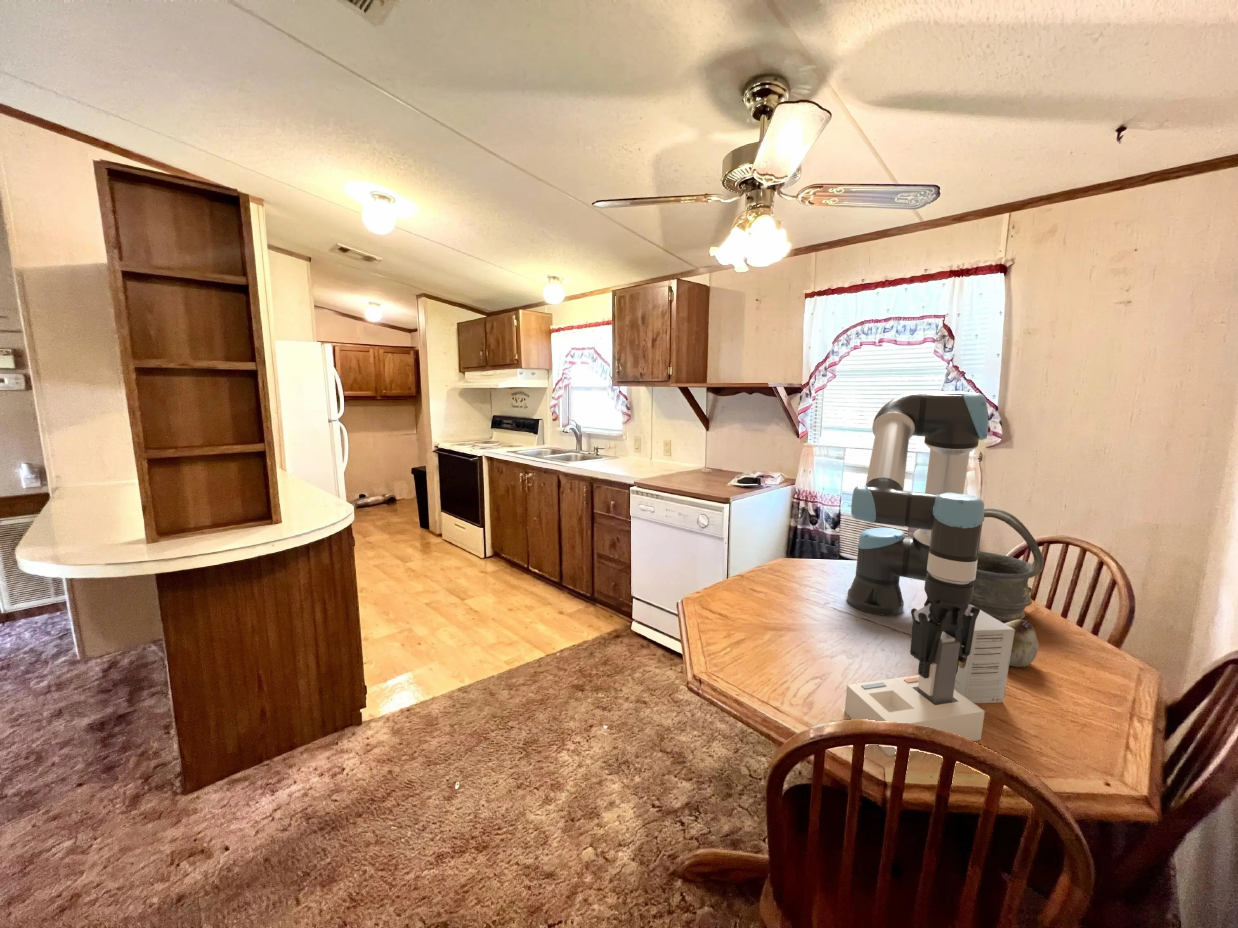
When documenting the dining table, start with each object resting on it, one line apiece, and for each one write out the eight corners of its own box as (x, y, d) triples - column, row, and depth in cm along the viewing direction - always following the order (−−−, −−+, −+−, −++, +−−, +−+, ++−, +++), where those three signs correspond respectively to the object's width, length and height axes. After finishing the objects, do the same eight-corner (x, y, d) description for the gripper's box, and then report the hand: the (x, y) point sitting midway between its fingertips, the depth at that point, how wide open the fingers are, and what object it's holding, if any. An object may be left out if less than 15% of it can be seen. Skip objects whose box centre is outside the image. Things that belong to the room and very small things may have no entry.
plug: (934, 691, 96) (942, 629, 94) (951, 704, 92) (960, 639, 90) (917, 694, 95) (925, 631, 93) (934, 707, 91) (942, 641, 89)
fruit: (1021, 677, 109) (1029, 629, 107) (975, 657, 117) (981, 611, 115) (1043, 666, 114) (1050, 619, 112) (997, 646, 122) (1003, 602, 120)
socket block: (926, 698, 102) (929, 671, 101) (980, 739, 90) (984, 710, 89) (843, 710, 98) (846, 683, 96) (888, 755, 86) (892, 725, 85)
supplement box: (930, 677, 109) (939, 608, 106) (968, 675, 110) (977, 607, 107) (964, 705, 99) (974, 630, 97) (1005, 703, 100) (1016, 628, 97)
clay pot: (968, 586, 158) (980, 498, 153) (1051, 618, 137) (1068, 517, 132) (920, 596, 151) (931, 504, 146) (1001, 632, 129) (1016, 525, 124)
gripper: (969, 565, 95) (954, 673, 99) (895, 572, 91) (883, 683, 95) (1006, 580, 88) (989, 696, 91) (927, 588, 84) (913, 707, 88)
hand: (935, 689), depth 93 cm, fingers closed on plug, 4 cm apart
